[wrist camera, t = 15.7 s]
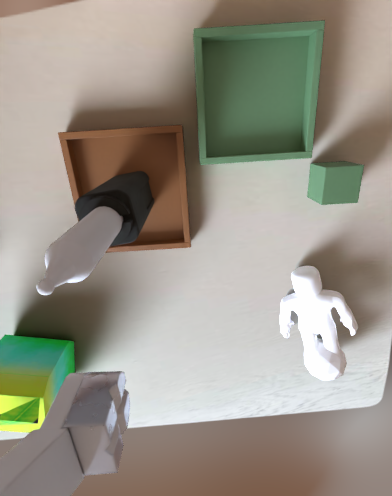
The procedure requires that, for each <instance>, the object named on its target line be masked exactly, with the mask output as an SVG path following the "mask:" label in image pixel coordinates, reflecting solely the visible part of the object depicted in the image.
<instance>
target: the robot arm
mask: <svg viewBox="0 0 392 496" xmlns="http://www.w3.org/2000/svg"><path fill="white" fill-rule="evenodd" d="M125 383H126V378H125V374H124V372H122V371H117V372H88V373H70V374H69V375H68V376H67V377H66V378H65V380H64V382H63V383H62V385H61V387H60V389H59V391H58V393H57V395H56V397H55V399H54V401H53V403H52V405H51V407H50V409H49V411H48V413H47V415H46V417H45V419H44V421H43V423H42V425H41V427H40V429H37V430H33V431H32V432H30V433H29V434H28V435H27V436H26V437H25V438H23V439H22V440H21V441H20V442H19V443H18V444H16V445H15V446H14V447H13V448H12V449H11V450H10V451H8V453H6V454H5V455H4V456H3V457H1V458H0V496H71V495H72V494H73V492H74V491H75V489H76V488H77V487H78V485H79V484H80V483H81V482H82V480H83V479H84V475H95V474H107V473H118V468H119V463H120V459H121V454H122V450H123V441H122V436H121V435H122V434H123V432H124V431H125V430H126V429H127V426H128V421H129V412H130V398H129V393H128V391H127V390H125V389H124V388H125Z"/></svg>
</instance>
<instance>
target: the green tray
mask: <svg viewBox="0 0 392 496" xmlns="http://www.w3.org/2000/svg"><path fill="white" fill-rule="evenodd" d="M324 25H325V20H321V21H306V22H290V23H274V24H258V25H243V26H227V27H211V28H196V29H194V33H193V41H194V60H195V80H196V99H197V119H198V138H199V158H200V164H201V165H206V164H222V163H238V162H253V161H269V160H285V159H301V158H312V150H313V140H314V129H315V119H316V108H317V98H318V88H319V77H320V67H321V57H322V46H323V36H324Z"/></svg>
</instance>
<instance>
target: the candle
mask: <svg viewBox="0 0 392 496" xmlns="http://www.w3.org/2000/svg"><path fill="white" fill-rule="evenodd" d="M153 205H154V198H153V197H152V193H151V189H150V185H149V177H148V175H147V174H146V173H145V172H143V171H136V172H131V173H126V174H121V175H117V176H114V177H113V178H111V179H109V180H108V181H106V182H104V183H103V184H101V185H99V186H98V187H96V188H94V189H93V190H91V191H89V192H88V193H86V194H84V195H83V196H81V197H79V198H78V199H77V201H76V203H75V211H76V214H77V216H78V219H79V222H78V223H77V224H75V225H74V226H73V227H72V228H71V229H69V230H68V231H67V232H66V233H64V234H63V235H62V236H61V237H59V238H58V239H57V240H56V241H55V242H53V243H52V244H51V245H50V246H49V247H48V249H47V251H46V254H45V264H46V267H47V269H46V273H45V276H44V279H43V280H41V281H39V282H38V283H37V286H36V288H37V291H38V292H39V293H40V294H42V295H49V294H51V293H52V292H53V291H54V288H55V287H57V286H59V285H61V284H64V283H66V282H67V283H75V282H79V281H82V280H84V279H85V278H87V277H88V276H89V275H90V274H91V272H92V271H93V269H94V268H95V266H96V265H97V264H98V262H99V261H100V259H101V258H102V256H103V255H104V254H105V252H106V251H107V249H108V248H109V247H110V246H116V245H121V244H126V243H131V242H133V241H135V240H136V239H137V238H138V236H139V234H140V232H141V230H142V228H143V225H144V223H145V221H146V219H147V217H148V215H149V213H150V211H151V209H152V207H153Z"/></svg>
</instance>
